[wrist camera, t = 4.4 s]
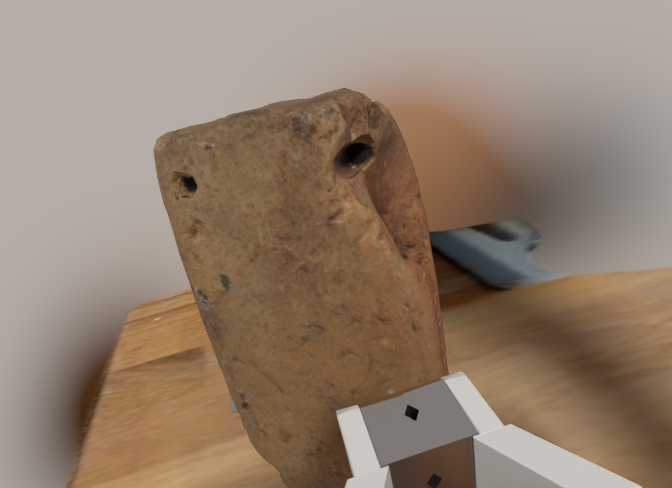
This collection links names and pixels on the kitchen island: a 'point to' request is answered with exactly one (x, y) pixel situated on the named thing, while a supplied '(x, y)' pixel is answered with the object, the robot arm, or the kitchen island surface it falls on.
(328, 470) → the block
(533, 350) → the kitchen island surface
